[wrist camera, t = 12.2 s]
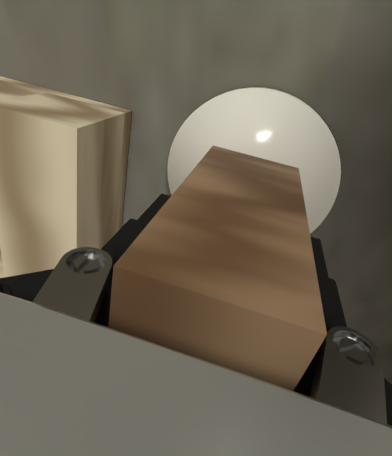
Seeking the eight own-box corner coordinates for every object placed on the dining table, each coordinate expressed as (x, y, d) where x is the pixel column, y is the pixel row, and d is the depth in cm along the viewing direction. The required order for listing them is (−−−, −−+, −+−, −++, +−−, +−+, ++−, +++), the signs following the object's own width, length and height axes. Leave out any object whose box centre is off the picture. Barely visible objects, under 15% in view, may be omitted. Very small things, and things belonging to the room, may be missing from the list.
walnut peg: (298, 168, 15) (327, 334, 6) (270, 241, 18) (258, 449, 8) (212, 145, 16) (113, 265, 6) (196, 219, 18) (103, 391, 9)
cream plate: (370, 111, 16) (375, 114, 15) (300, 263, 21) (301, 272, 20) (187, 67, 17) (182, 68, 16) (162, 222, 22) (157, 228, 21)
